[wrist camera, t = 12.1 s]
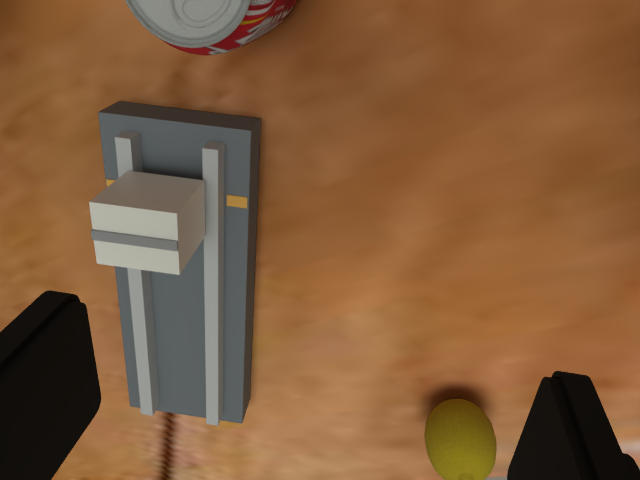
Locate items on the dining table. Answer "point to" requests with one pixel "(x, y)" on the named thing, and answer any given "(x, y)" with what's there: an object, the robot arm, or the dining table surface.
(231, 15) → the soda can
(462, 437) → the lemon
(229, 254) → the slider panel
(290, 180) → the dining table surface
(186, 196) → the fader cap
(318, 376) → the dining table surface
